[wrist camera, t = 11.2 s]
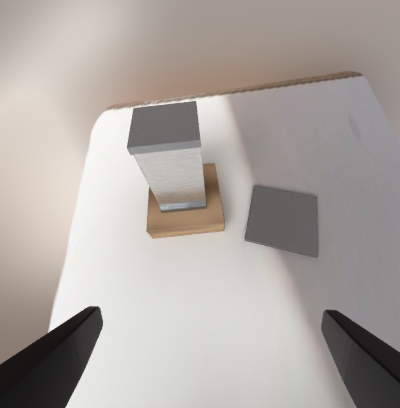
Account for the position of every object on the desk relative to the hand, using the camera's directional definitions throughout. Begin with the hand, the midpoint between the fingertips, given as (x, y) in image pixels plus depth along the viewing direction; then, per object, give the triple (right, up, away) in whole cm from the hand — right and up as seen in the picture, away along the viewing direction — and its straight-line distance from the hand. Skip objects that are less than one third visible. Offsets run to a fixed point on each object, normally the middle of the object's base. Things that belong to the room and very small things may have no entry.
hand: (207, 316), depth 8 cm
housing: (-2, +6, +16) cm, 17 cm away
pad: (+10, +3, +16) cm, 19 cm away
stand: (-2, +4, +19) cm, 19 cm away
